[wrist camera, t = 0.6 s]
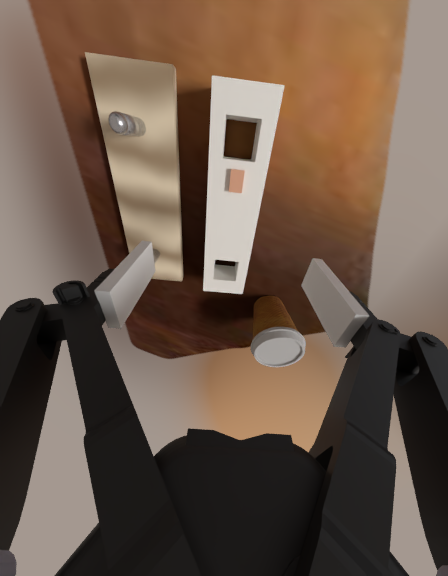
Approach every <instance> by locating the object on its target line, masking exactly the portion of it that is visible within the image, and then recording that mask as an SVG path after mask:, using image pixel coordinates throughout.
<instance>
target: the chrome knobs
mask: <svg viewBox="0 0 448 576" xmlns="http://www.w3.org/2000/svg"><path fill="white" fill-rule="evenodd" d="M108 120H109V125H110V127H111V129H112V130H113V131H114V132H115V133H117V134H119V135H128V136H143V135H144V134H145V132H146V127H145V124H144V122H143V121H142V119H140V118H138V117H135V116H131V115H128V114H125V113H121V112H117V111H114V112H112V113H110V115H109V119H108ZM153 256H154V263H156V261H157V260H158V258H159V256H160V252H159V251H158V250H157V249H153Z"/></svg>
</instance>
